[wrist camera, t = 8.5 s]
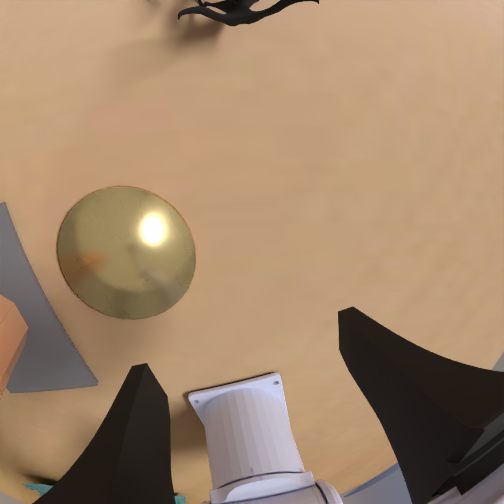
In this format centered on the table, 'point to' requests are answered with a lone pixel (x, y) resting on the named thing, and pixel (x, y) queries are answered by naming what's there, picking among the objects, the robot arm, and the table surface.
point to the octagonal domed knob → (10, 339)
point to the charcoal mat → (37, 325)
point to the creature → (237, 11)
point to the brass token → (126, 252)
